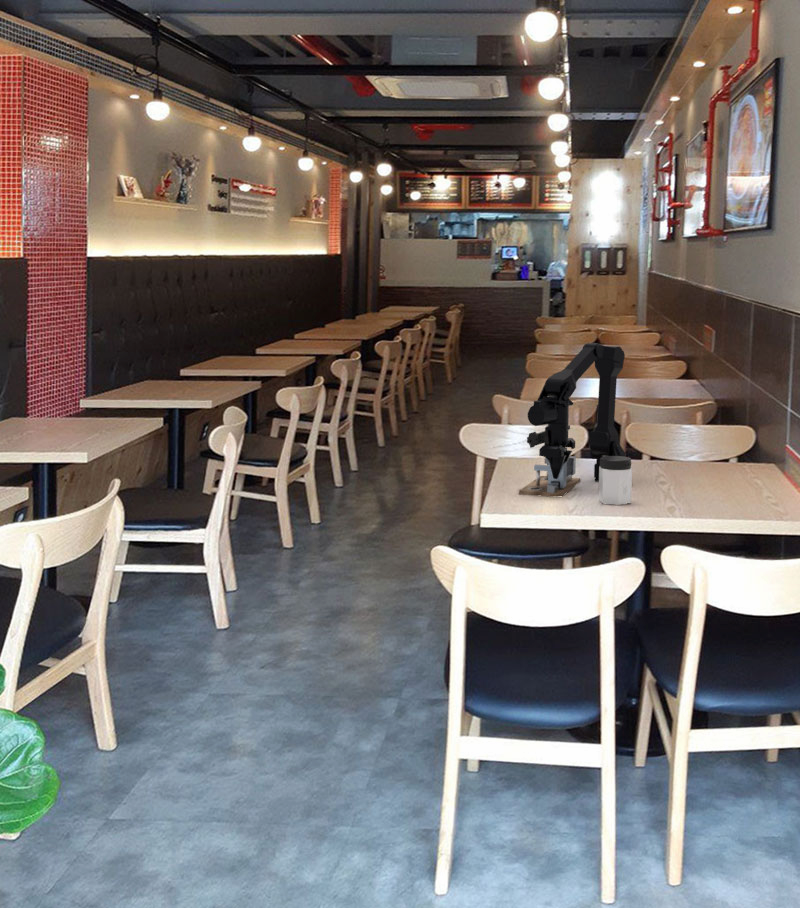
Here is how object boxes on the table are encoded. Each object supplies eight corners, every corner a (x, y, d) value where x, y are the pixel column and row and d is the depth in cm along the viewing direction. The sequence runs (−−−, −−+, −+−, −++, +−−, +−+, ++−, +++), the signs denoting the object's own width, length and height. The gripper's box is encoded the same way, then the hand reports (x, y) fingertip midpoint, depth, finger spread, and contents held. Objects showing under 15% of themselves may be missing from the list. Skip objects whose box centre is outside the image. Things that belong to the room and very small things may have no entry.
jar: (613, 506, 307) (614, 461, 305) (591, 501, 314) (592, 457, 312) (637, 502, 312) (639, 458, 310) (616, 497, 318) (617, 454, 317)
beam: (576, 479, 341) (576, 455, 340) (558, 493, 320) (559, 468, 319) (546, 477, 344) (547, 454, 343) (527, 491, 323) (528, 466, 322)
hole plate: (580, 481, 343) (580, 477, 343) (561, 497, 320) (561, 492, 320) (540, 479, 347) (540, 475, 347) (519, 494, 324) (519, 490, 324)
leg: (566, 486, 329) (566, 461, 328) (563, 488, 325) (563, 463, 324) (536, 484, 332) (536, 460, 331) (532, 486, 328) (533, 462, 327)
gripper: (538, 417, 336) (537, 470, 339) (521, 425, 319) (520, 481, 321) (576, 418, 332) (575, 472, 335) (561, 427, 315) (560, 483, 318)
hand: (557, 477), depth 327 cm, fingers closed on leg, 4 cm apart
